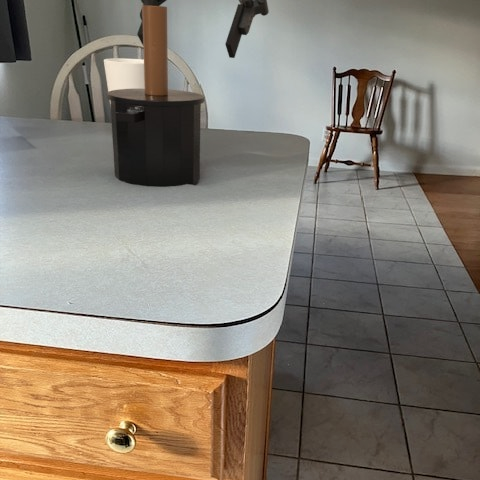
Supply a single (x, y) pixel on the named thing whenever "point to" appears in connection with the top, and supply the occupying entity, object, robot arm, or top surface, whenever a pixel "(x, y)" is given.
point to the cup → (124, 73)
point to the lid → (155, 67)
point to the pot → (156, 144)
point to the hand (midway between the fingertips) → (185, 46)
